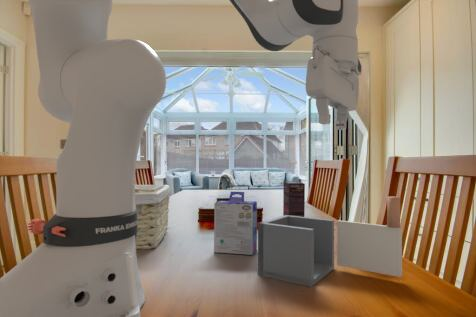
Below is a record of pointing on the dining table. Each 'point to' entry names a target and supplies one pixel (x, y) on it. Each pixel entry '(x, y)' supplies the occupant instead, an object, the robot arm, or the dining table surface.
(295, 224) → the grey open box
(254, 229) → the ink cartridge box
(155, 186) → the storage basket
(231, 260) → the dining table surface
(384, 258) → the flap
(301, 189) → the supplement box
